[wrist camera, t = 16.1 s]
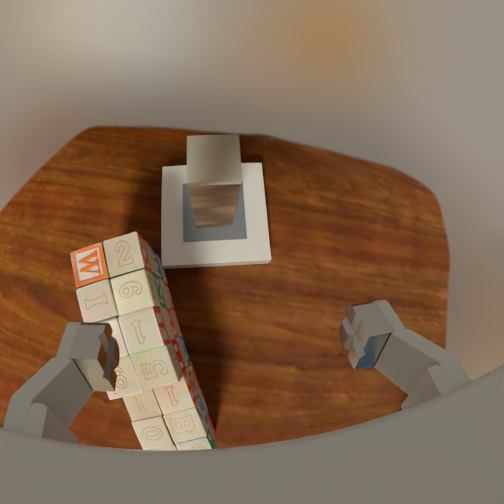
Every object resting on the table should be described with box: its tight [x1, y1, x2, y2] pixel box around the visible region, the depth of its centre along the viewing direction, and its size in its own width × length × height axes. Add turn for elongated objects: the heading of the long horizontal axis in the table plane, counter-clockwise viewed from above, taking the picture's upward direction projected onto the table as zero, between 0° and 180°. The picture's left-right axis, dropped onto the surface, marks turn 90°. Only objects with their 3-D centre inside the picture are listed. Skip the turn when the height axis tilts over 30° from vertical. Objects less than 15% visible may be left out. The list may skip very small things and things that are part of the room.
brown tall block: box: [187, 134, 242, 228], centre depth 28 cm, size 4×4×12 cm
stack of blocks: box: [70, 232, 217, 450], centre depth 26 cm, size 21×6×12 cm, turn 17°
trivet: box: [161, 163, 271, 269], centre depth 35 cm, size 12×12×2 cm
